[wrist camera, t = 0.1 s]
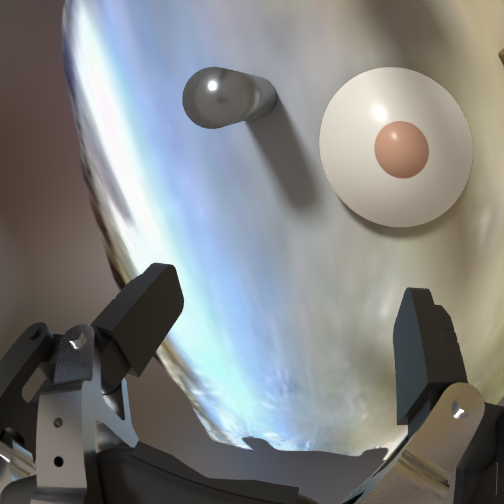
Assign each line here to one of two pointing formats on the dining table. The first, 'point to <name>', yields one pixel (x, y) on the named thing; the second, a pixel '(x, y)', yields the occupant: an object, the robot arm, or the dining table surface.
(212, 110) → the cup
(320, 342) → the dining table surface
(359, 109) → the disc
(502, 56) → the candle holder
